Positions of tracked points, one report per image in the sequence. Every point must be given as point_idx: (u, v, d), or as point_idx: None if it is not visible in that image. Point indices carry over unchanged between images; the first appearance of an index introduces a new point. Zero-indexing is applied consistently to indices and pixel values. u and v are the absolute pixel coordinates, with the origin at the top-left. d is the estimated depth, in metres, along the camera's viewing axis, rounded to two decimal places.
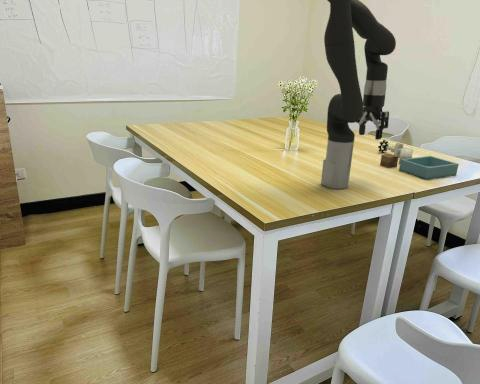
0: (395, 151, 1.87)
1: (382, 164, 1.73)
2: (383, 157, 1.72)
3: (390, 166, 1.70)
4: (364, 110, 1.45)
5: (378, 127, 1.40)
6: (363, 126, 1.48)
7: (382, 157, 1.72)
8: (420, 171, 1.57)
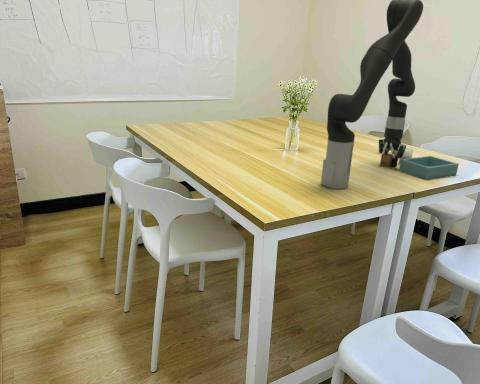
0: None
1: (382, 164, 1.73)
2: (383, 157, 1.72)
3: (390, 166, 1.70)
4: (385, 140, 1.71)
5: (394, 157, 1.68)
6: None
7: (382, 157, 1.72)
8: (420, 171, 1.57)
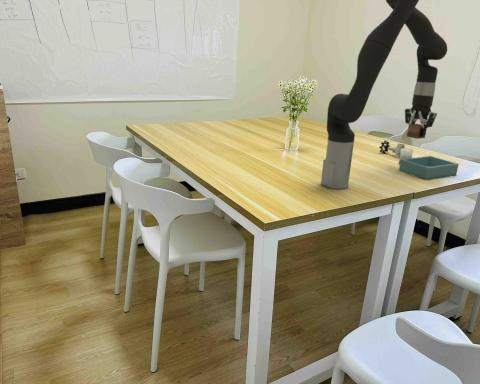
0: (397, 151, 1.87)
1: (409, 135, 1.61)
2: (410, 127, 1.60)
3: (418, 136, 1.58)
4: (412, 109, 1.60)
5: (423, 126, 1.56)
6: None
7: (409, 127, 1.60)
8: (420, 171, 1.57)
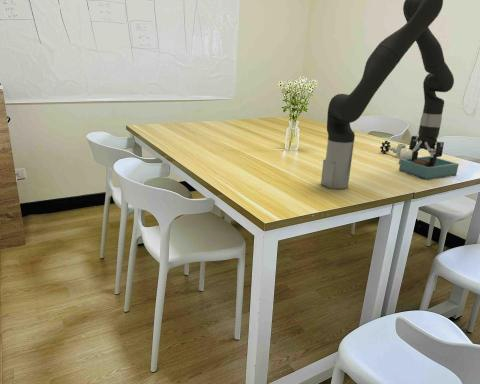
0: (397, 152, 1.86)
1: None
2: (416, 162, 1.61)
3: None
4: (418, 139, 1.60)
5: (432, 155, 1.55)
6: (416, 153, 1.63)
7: (415, 162, 1.62)
8: (420, 171, 1.57)
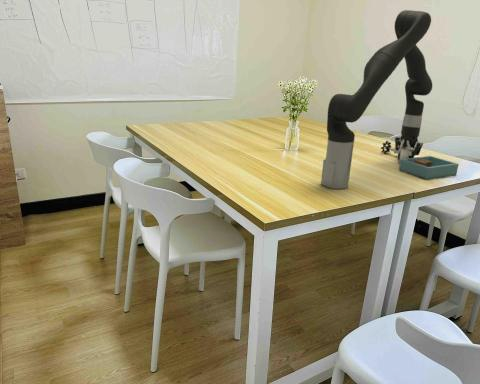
0: None
1: None
2: (416, 162, 1.61)
3: None
4: (401, 138, 1.75)
5: (411, 154, 1.72)
6: None
7: (415, 162, 1.62)
8: (420, 171, 1.57)
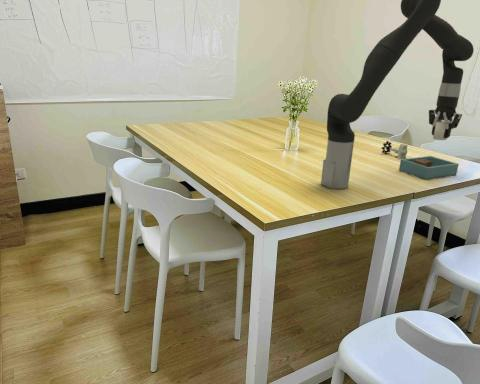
0: (399, 152, 1.85)
1: None
2: (416, 162, 1.61)
3: None
4: (437, 110, 1.60)
5: (448, 127, 1.56)
6: None
7: (415, 162, 1.62)
8: (420, 171, 1.57)
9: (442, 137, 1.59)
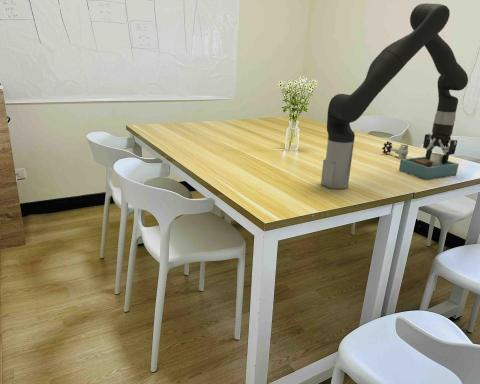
0: (400, 152, 1.85)
1: None
2: (416, 162, 1.61)
3: None
4: (432, 137, 1.63)
5: (445, 153, 1.59)
6: (430, 151, 1.66)
7: (415, 162, 1.62)
8: (420, 171, 1.57)
9: None
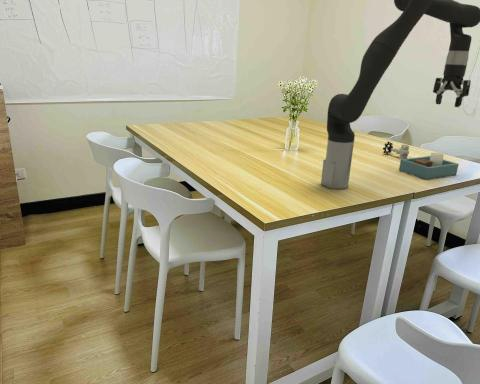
0: (401, 153, 1.84)
1: None
2: (416, 162, 1.61)
3: None
4: (443, 80, 1.55)
5: (459, 95, 1.50)
6: (440, 96, 1.59)
7: (415, 162, 1.62)
8: (420, 171, 1.57)
9: None
